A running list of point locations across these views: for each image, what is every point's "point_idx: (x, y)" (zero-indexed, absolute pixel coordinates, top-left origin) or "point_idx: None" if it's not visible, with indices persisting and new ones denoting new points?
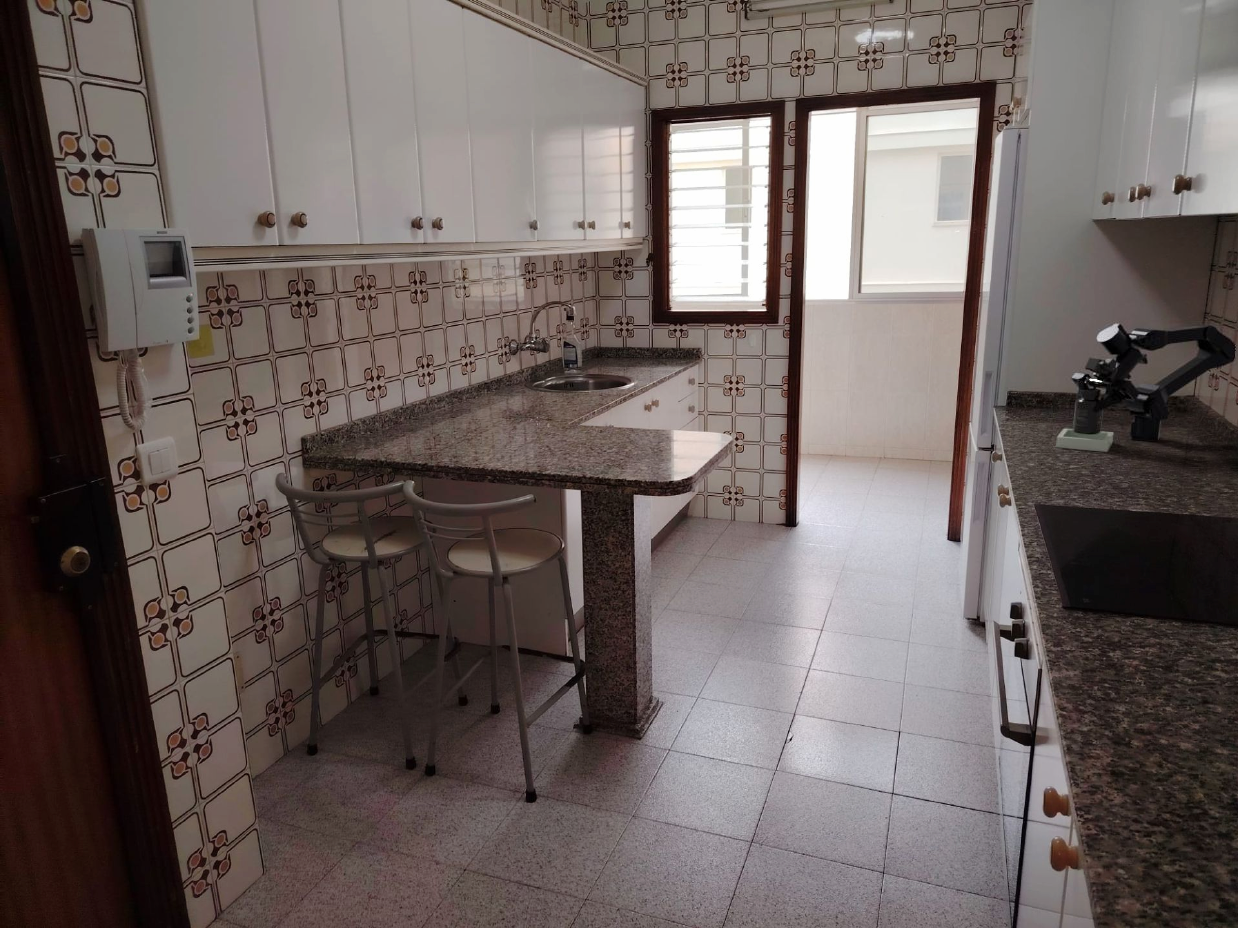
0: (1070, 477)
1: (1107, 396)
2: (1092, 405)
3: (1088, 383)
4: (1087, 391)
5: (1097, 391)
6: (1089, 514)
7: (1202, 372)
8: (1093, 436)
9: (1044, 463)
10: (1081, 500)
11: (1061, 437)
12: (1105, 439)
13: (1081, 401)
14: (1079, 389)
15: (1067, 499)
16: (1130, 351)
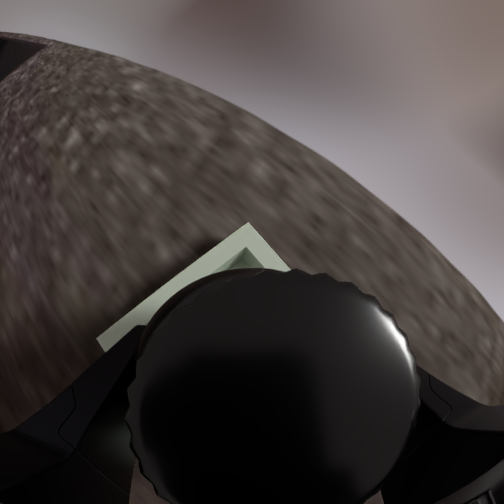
0: (48, 101)
1: (33, 416)
2: (149, 322)
3: (486, 500)
4: (217, 288)
5: (129, 423)
6: (4, 72)
7: None
8: None
9: (125, 106)
10: (15, 78)
11: (235, 232)
12: None
13: (249, 275)
14: (473, 405)
15: (26, 68)
16: None
